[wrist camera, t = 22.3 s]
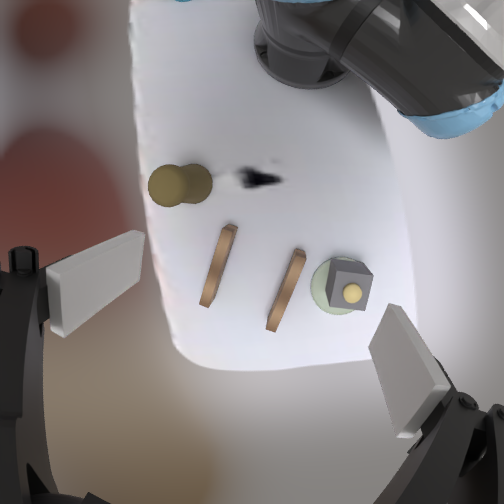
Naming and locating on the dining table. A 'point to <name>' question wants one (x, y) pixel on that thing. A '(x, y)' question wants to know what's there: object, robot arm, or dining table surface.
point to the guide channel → (219, 265)
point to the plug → (348, 284)
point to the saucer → (319, 289)
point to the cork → (179, 184)
